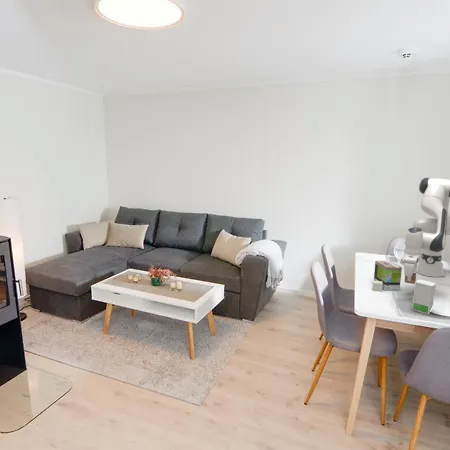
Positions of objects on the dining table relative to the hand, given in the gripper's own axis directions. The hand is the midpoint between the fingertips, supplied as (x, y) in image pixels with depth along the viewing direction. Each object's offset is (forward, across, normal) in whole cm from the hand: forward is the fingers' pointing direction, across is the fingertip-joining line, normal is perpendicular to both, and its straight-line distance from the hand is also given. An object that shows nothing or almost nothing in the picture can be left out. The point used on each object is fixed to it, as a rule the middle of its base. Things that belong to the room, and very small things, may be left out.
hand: (410, 279), depth 197 cm
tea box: (+10, -7, -14) cm, 18 cm away
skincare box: (+9, +21, +10) cm, 25 cm away
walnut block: (+2, 0, 0) cm, 2 cm away
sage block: (+10, +3, -17) cm, 19 cm away
